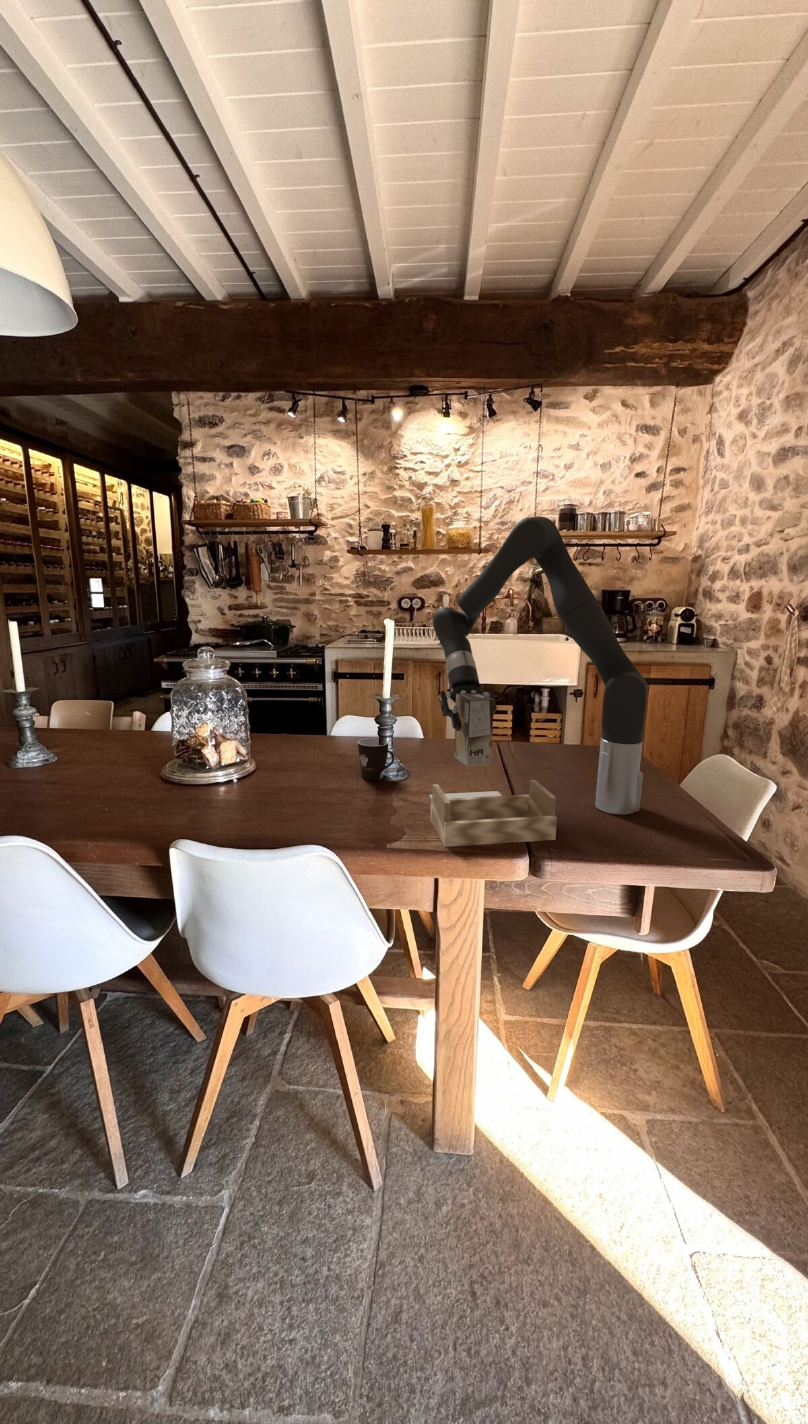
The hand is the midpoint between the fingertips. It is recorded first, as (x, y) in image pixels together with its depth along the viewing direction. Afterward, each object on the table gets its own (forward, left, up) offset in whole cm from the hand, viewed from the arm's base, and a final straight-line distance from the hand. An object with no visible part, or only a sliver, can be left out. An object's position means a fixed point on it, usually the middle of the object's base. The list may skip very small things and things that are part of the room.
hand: (473, 728), depth 140 cm
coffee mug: (+21, -22, -19) cm, 36 cm away
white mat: (0, 0, -19) cm, 19 cm away
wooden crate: (0, +16, -19) cm, 25 cm away
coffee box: (0, 0, -8) cm, 8 cm away
